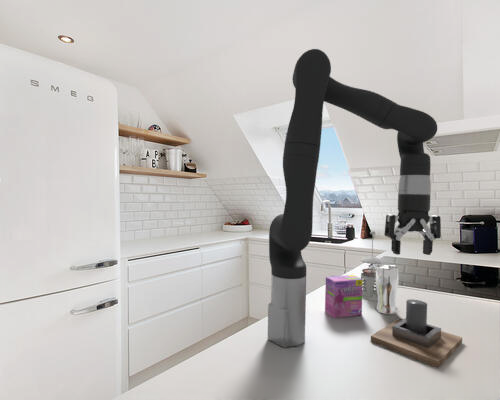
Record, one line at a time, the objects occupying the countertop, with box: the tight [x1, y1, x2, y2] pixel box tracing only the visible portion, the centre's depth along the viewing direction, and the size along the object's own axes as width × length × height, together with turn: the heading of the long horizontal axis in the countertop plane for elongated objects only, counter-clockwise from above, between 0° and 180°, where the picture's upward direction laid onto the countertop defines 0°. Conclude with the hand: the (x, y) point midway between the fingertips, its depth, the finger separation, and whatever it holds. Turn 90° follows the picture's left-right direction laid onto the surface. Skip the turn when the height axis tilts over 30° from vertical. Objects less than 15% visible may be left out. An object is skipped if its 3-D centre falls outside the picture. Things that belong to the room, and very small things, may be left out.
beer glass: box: [375, 263, 399, 316], centre depth 101 cm, size 7×7×15 cm
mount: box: [370, 317, 463, 369], centre depth 80 cm, size 18×16×4 cm
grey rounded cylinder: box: [405, 299, 428, 335], centre depth 80 cm, size 5×5×9 cm
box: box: [324, 274, 364, 319], centre depth 99 cm, size 10×6×12 cm, turn 105°
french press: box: [360, 230, 384, 302], centre depth 115 cm, size 10×12×25 cm
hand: (411, 254), depth 81 cm, fingers open, 8 cm apart
